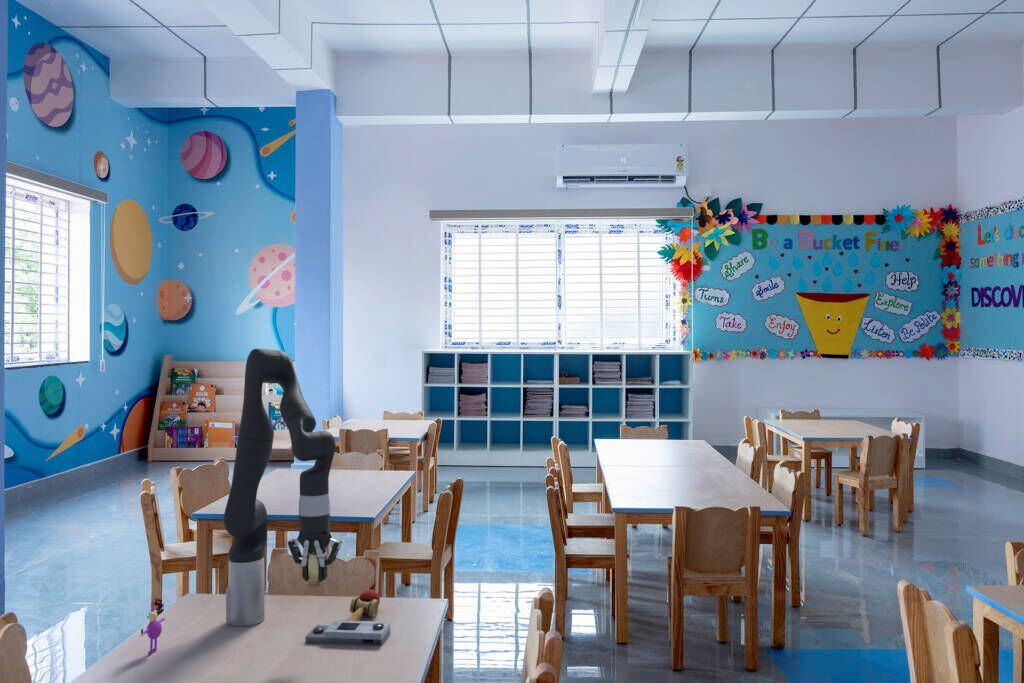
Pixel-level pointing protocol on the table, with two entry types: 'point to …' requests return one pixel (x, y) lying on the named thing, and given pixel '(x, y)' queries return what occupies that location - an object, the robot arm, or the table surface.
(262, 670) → the table surface
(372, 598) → the kendama
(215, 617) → the table surface
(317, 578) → the brass pin
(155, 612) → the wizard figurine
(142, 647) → the table surface
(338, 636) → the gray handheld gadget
